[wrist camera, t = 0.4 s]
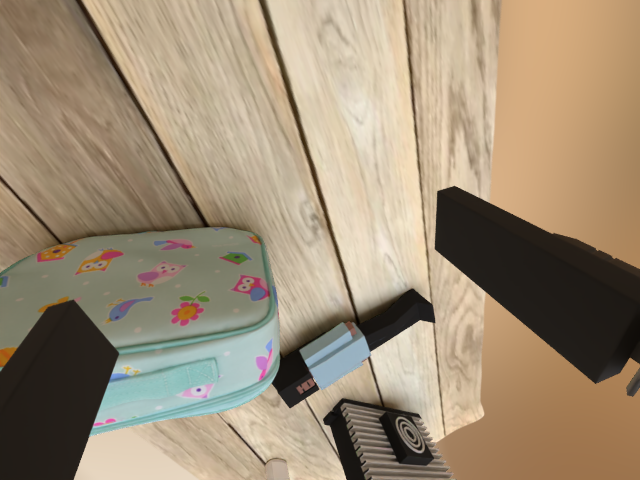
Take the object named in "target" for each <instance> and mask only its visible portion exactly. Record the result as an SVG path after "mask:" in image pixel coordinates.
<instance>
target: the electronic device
mask: <svg viewBox="0 0 640 480" xmlns="http://www.w3.org/2000/svg"><path fill="white" fill-rule="evenodd" d="M420 419H421V417H420V415H419V414H415V413H410V412H405V411H401V410H396V409H391V408H386V407H382V406H377V405H372V404H367V403H363V402H358V401H353V400H348V399H344V398H342V400H341V401H340V402H339V403H338V404H337V405H336V406H335V407H334V408H333V412H331V411H330V412H329V414H328V415H327V416H326V417H325V418H324V419H323V421H324V424H325V425H329V426H330V427H331V430H332V433H333V437H334V440H335V443H336V446H337V450H338V453H339V456H340V460H341V463H342V466H343V469H344V473H345V476H346V479H347V480H456V479H449V478H450V477H451V476H452V475H453V473H452V472H446V471H447V470H448V469H449V468H450V467H449V466H444V465H443V464H444V463H445V462H446V460H440V458H441V457H442V454H437V453H436V452H437V451H439V449H438V448H433V447H434V446H435V445H436V443H434V442H430V441H431V440H432V439H433V438H432V437H427V436H428V435H429V434H430V433H429V432H426V431H425V430H426V429H427V427H424V426H422V425H423V424H424V422H421V421H419V420H420Z"/></svg>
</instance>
